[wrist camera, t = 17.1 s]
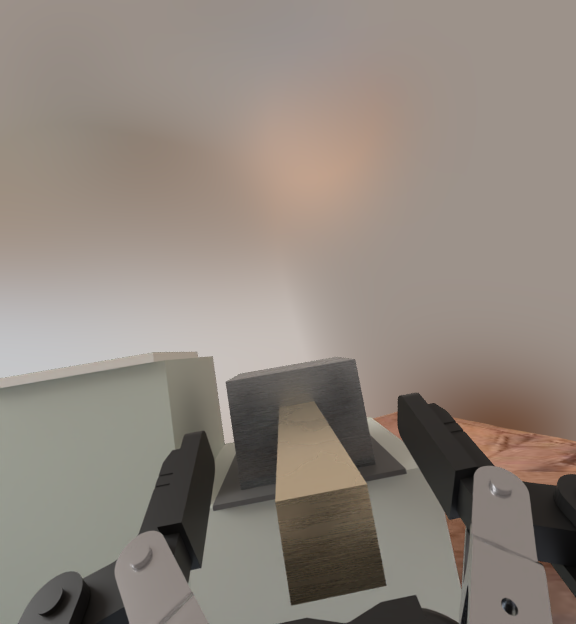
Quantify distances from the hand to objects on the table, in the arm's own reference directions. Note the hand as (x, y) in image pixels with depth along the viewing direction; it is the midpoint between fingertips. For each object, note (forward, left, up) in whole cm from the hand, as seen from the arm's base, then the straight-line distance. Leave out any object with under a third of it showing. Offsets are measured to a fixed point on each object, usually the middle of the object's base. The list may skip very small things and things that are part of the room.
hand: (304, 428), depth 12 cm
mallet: (-4, +4, -5) cm, 7 cm away
